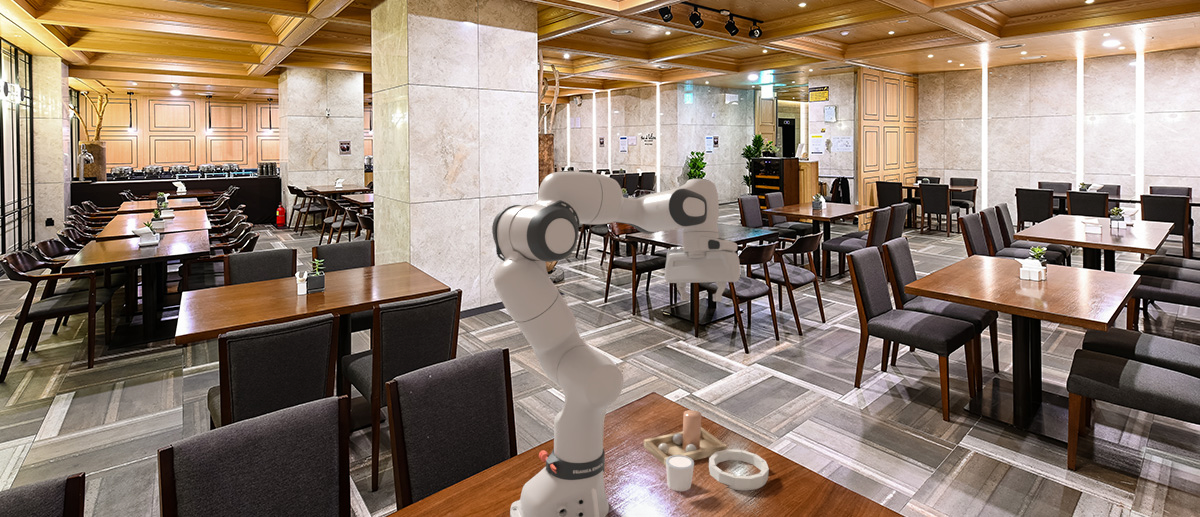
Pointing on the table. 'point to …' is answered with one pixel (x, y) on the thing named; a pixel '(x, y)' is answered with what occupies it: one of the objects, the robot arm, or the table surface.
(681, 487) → the shot glass
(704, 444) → the parts tray
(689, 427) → the peach cylinder
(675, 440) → the pebble
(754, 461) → the bowl
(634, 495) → the table surface
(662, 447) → the pebble
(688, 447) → the pebble
